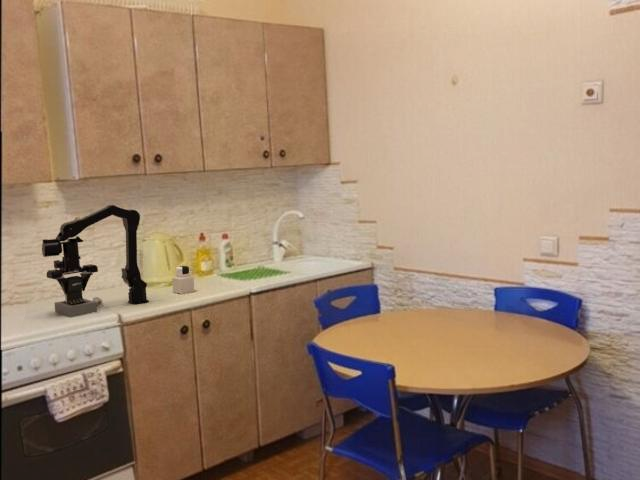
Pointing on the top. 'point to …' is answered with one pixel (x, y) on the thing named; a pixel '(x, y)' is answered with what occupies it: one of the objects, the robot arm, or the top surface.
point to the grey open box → (75, 308)
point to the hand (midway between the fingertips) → (74, 292)
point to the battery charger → (74, 290)
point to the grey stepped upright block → (183, 280)
